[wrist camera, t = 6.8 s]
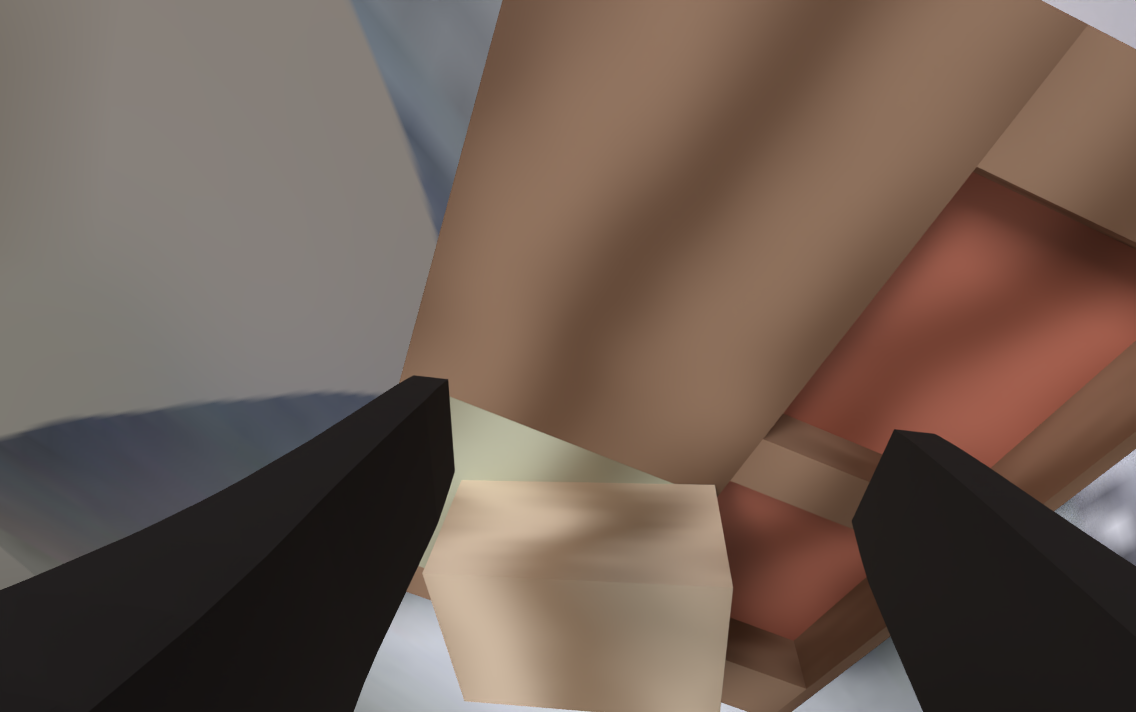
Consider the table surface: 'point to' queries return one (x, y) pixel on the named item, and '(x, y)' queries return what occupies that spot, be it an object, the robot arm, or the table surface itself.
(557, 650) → the birch block
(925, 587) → the robot arm
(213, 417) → the table surface
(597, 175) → the trap deck
